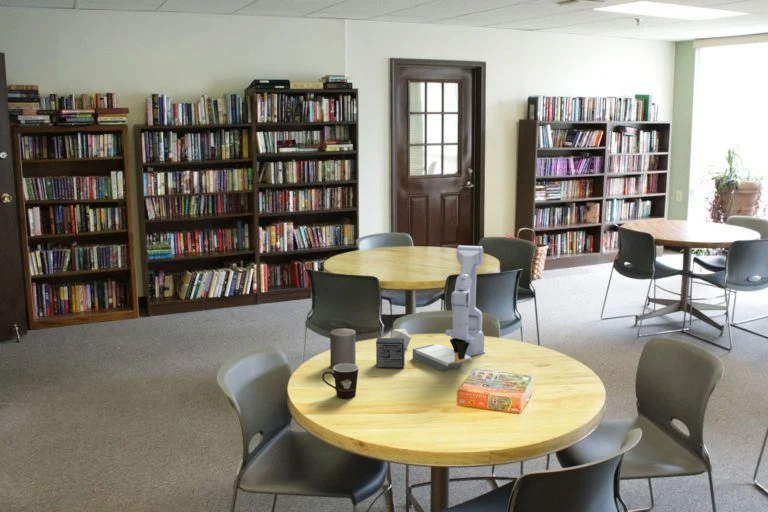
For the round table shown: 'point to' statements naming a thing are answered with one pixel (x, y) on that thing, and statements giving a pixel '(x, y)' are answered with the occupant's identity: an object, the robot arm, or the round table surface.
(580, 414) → the round table surface
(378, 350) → the small box
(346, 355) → the pillar candle
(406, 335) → the die
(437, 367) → the tub
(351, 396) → the coffee mug
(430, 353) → the lid
